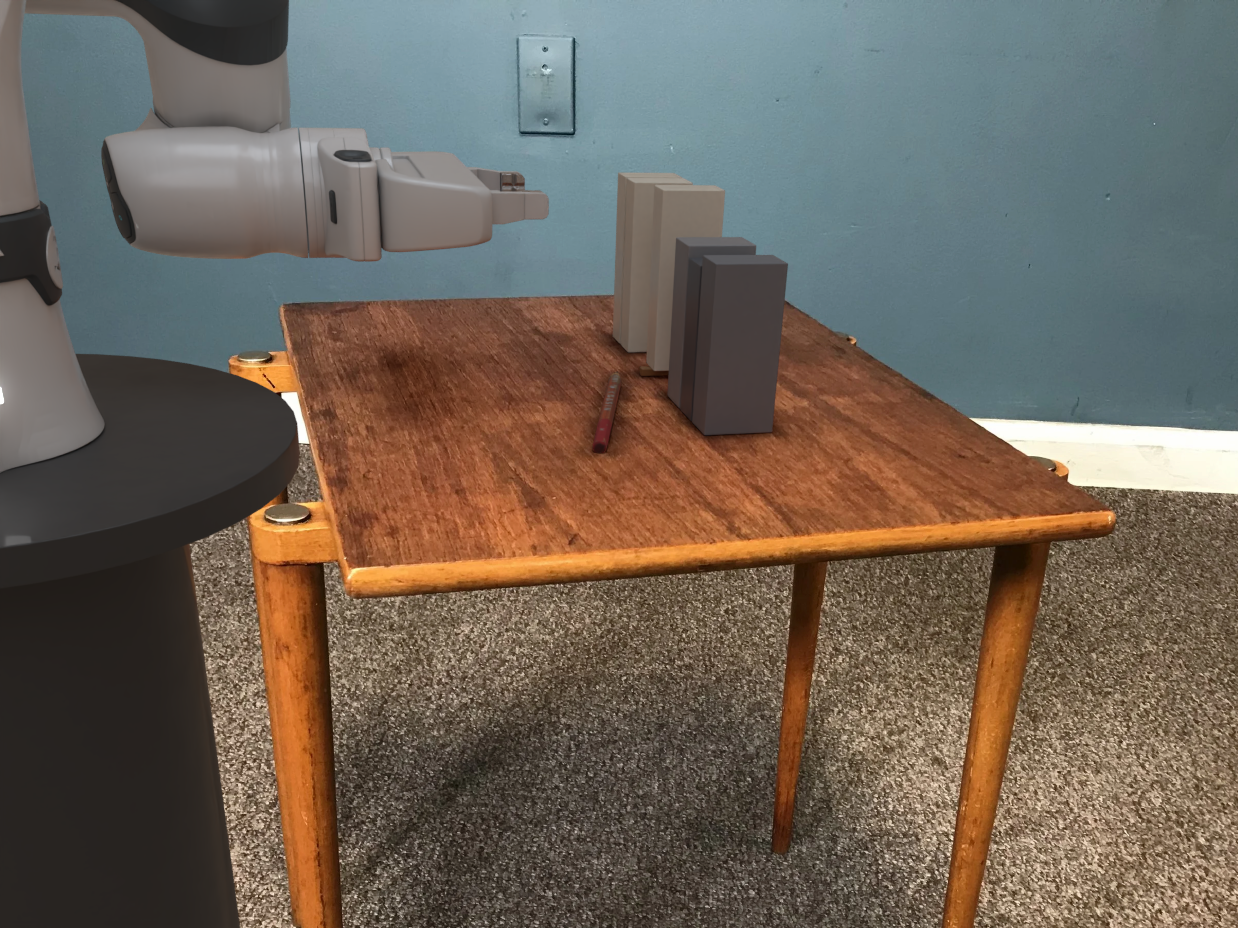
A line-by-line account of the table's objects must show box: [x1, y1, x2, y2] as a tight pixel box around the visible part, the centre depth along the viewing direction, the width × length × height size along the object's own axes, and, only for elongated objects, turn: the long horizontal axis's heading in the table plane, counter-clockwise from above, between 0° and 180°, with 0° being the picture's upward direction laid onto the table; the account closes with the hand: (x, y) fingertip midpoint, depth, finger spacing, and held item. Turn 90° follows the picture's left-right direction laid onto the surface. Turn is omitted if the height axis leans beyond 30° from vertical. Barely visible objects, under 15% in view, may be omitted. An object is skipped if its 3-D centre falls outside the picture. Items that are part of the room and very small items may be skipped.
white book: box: [645, 184, 726, 371], centre depth 101 cm, size 5×2×14 cm, turn 105°
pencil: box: [591, 371, 623, 454], centre depth 95 cm, size 19×1×1 cm, turn 177°
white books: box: [612, 171, 694, 377], centre depth 106 cm, size 6×13×14 cm, turn 15°
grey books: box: [667, 236, 789, 436], centre depth 93 cm, size 5×10×12 cm, turn 15°
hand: (534, 194), depth 95 cm, fingers open, 8 cm apart
